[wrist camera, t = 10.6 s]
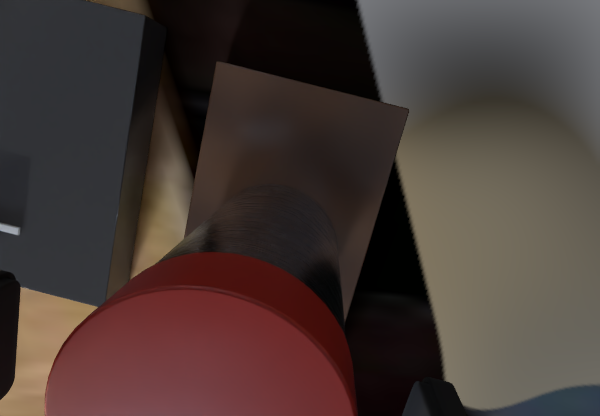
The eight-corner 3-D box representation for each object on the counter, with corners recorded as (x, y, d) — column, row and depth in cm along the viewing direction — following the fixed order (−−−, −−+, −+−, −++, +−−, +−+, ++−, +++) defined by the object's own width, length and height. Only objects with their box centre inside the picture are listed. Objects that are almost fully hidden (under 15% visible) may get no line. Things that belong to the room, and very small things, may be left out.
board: (224, 64, 20) (216, 60, 18) (403, 109, 19) (409, 109, 18) (170, 347, 23) (160, 362, 22) (321, 385, 23) (320, 403, 22)
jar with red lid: (221, 166, 19) (58, 248, 7) (355, 200, 19) (401, 336, 7) (197, 290, 21) (29, 517, 9) (320, 322, 21) (314, 590, 9)
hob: (-100, -40, 19) (-166, -64, 17) (168, 27, 19) (143, 14, 17) (-101, 252, 23) (-155, 269, 20) (124, 309, 23) (99, 334, 20)
